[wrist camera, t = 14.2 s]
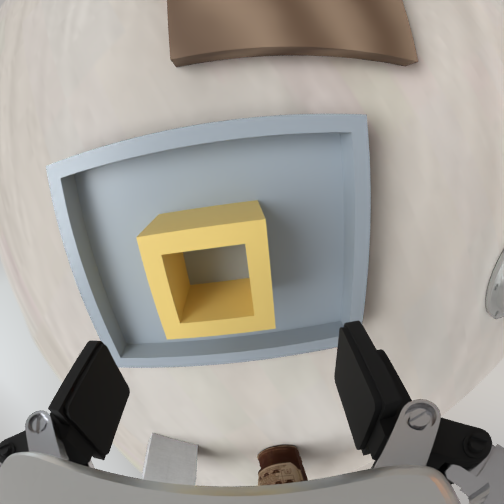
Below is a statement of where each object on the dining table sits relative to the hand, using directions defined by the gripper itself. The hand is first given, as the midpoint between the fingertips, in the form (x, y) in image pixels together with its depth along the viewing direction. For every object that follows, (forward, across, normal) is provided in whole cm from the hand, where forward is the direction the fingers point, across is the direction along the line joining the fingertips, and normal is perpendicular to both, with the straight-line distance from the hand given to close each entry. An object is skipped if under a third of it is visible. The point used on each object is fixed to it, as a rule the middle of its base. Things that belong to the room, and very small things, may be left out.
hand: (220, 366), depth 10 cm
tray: (+12, +1, 0) cm, 12 cm away
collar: (+11, +1, 0) cm, 11 cm away
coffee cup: (+13, -2, +34) cm, 36 cm away
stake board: (+12, -7, -23) cm, 27 cm away
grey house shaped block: (+12, +13, +29) cm, 34 cm away
